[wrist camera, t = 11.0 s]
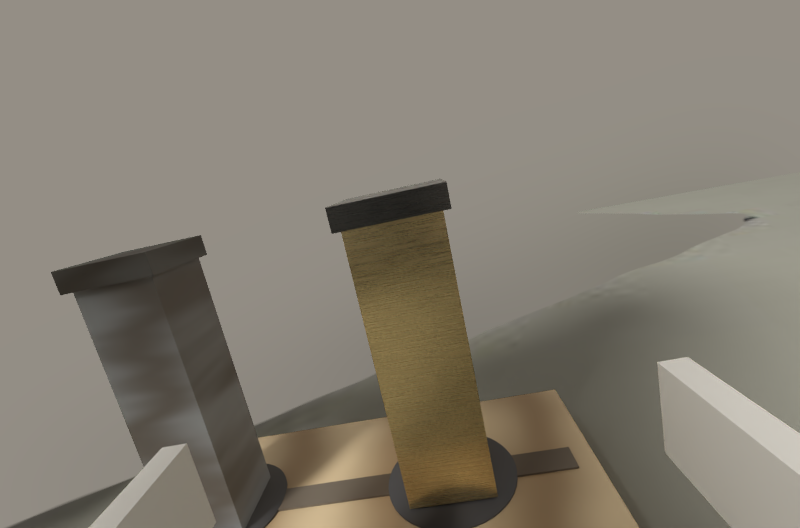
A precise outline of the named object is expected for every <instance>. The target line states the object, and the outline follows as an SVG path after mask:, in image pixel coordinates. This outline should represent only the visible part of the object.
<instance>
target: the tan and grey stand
mask: <svg viewBox="0 0 800 528" xmlns="http://www.w3.org/2000/svg"><path fill="white" fill-rule="evenodd" d="M204 255H207V253H206V250H205V247H204V244H203V241H202V238H201V235H200V236H195V237H191V238H186V239H181V240H177V241H172V242H167V243H163V244H158V245H154V246H149V247H144V248H140V249H135V250H130V251H126V252H122V253H118V254H115V255H111V256H108V257H104V258H100V259H97V260H93V261H89V262H86V263H82V264H79V265H75V266H71V267H68V268H64V269H61V270H57V271H54V272H51V274H52V276H53V278H54V281H55V283H56V286H57V288H58V291H59V293H60V295H63V294H68V293H74V296H75V298H76V301H77V303H78V305H79V308H80V310H81V313H82V315H83V318H84V320H85V323H86V325H87V328H88V330H89V333H90V335H91V338H92V340H93V342H94V345H95V347H96V350H97V352H98V355H99V357H100V360H101V362H102V365H103V367H104V370H105V372H106V374H107V377H108V379H109V382H110V384H111V387H112V389H113V392H114V394H115V397H116V399H117V402H118V404H119V407H120V409H121V411H122V414H123V416H124V419H125V421H126V424H127V426H128V429H129V431H130V434H131V436H132V439H133V441H134V444H135V446H136V448H137V451H138V453H139V456H140V458H141V461H142V463H143V465H144V467H145V466H146V465H147V463H148V462H149V461H150V460H151V459H152V458H153V457H154V456H155V455H156V454H157V453H158V451H159V450H160V449H161V448H162V447H168V446H174V445H180V444H186V443H187V445H188V448H189V451H190V453H191V456H192V459H193V461H194V464H195V467H196V469H197V472H198V475H199V477H200V480H201V483H202V485H203V488H204V491H205V493H206V496H207V499H208V501H209V504H210V507H211V509H212V512H213V515H214V517H215V520H216V523H215V525H214V527H213V528H639V526H638V525H637V523H636V521H635V520H634V518H633V517H632V515H631V513H630V512H629V510H628V508H627V507H626V505H625V503H624V502H623V500H622V498H621V497H620V495H619V494H618V492H617V490H616V489H615V487H614V485H613V484H612V482H611V480H610V479H609V477H608V475H607V474H606V472H605V471H604V469H603V467H602V466H601V464H600V462H599V461H598V459H597V457H596V456H595V454H594V453H593V451H592V449H591V448H590V446H589V444H588V443H587V441H586V439H585V438H584V436H583V434H582V433H581V431H580V430H579V428H578V426H577V425H576V423H575V421H574V420H573V418H572V416H571V415H570V413H569V411H568V410H567V408H566V407H565V405H564V403H563V402H562V400H561V398H560V397H559V395H558V393H557V392H556V390H549V391H542V392H536V393H530V394H524V395H518V396H512V397H506V398H499V399H493V400H487V401H481V402H480V405H481V411H482V416H483V421H484V426H485V431H486V437H487V442H488V447H489V452H490V458H491V463H492V468H493V473H494V478H495V484H496V489H497V494H498V497H493V498H486V499H479V500H471V501H464V502H457V503H450V504H443V505H436V506H428V507H421V508H414V509H410V507H409V503H408V499H407V495H406V491H405V487H404V483H403V479H402V475H401V471H400V467H399V463H398V459H397V455H396V451H395V447H394V443H393V439H392V435H391V431H390V427H389V422H388V418H387V417H383V418H376V419H370V420H364V421H358V422H352V423H346V424H340V425H333V426H327V427H321V428H315V429H309V430H303V431H296V432H290V433H284V434H278V435H272V436H266V437H260V438H258V437H257V434H256V431H255V428H254V425H253V422H252V419H251V416H250V413H249V410H248V407H247V403H246V400H245V397H244V394H243V392H242V388H241V385H240V382H239V379H238V376H237V373H236V370H235V367H234V364H233V361H232V358H231V355H230V352H229V349H228V346H227V343H226V340H225V337H224V334H223V331H222V328H221V325H220V322H219V319H218V316H217V312H216V310H215V307H214V303H213V301H212V298H211V294H210V291H209V288H208V285H207V282H206V279H205V276H204V273H203V270H202V267H201V264H200V261H199V257H202V256H204Z"/></svg>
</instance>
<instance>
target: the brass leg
mask: <svg viewBox="0 0 800 528" xmlns="http://www.w3.org/2000/svg"><path fill="white" fill-rule="evenodd" d="M325 209H326V212H327V217H328V221H329V225H330V228H331V233H337V232H341V233H342V237H343V241H344V246H345V250H346V253H347V257H348V262H349V266H350V269H351V273H352V277H353V281H354V286H355V290H356V294H357V298H358V302H359V306H360V310H361V314H362V318H363V322H364V326H365V330H366V334H367V338H368V342H369V346H370V350H371V354H372V358H373V362H374V366H375V370H376V374H377V378H378V382H379V386H380V390H381V394H382V398H383V402H384V406H385V410H386V414H387V418H388V422H389V427H390V431H391V435H392V439H393V443H394V447H395V451H396V455H397V459H398V463H399V467H400V471H401V475H402V479H403V483H404V487H405V491H406V495H407V499H408V503H409V507H410V509H414V508H421V507H428V506H436V505H443V504H450V503H457V502H464V501H471V500H479V499H486V498H493V497H498V494H497V489H496V484H495V478H494V473H493V468H492V463H491V458H490V452H489V447H488V442H487V437H486V431H485V426H484V421H483V416H482V411H481V405H480V400H479V395H478V390H477V385H476V379H475V374H474V369H473V364H472V358H471V353H470V348H469V343H468V338H467V333H466V328H465V322H464V317H463V312H462V306H461V302H460V296H459V291H458V286H457V280H456V275H455V270H454V265H453V260H452V254H451V249H450V244H449V239H448V234H447V228H446V223H445V218H444V213H443V210H447V209H451V204H450V199H449V193H448V188H447V183H446V181H444V180H442V179H437V180H433V181H428V182H424V183H419V184H414V185H410V186H405V187H401V188H396V189H392V190H387V191H382V192H378V193H373V194H369V195H364V196H359V197H355V198H350V199H346V200H344V201H341V202H339V203H336V204H334V205H331V206H329V207H326V208H325Z"/></svg>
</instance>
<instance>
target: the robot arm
mask: <svg viewBox="0 0 800 528" xmlns="http://www.w3.org/2000/svg"><path fill="white" fill-rule="evenodd" d="M657 366H658V378H659V389H660V401H661V412H662V424H663V435H664V447H665V453H666V455H667V456H668V457H669V458H670V459H671V460H672V461H673V462H674V464H675V465H676V466H677V467H678V468H679V469H680V470H681V472H682V473H683V474H684V475H685V476H686V477H687V478H688V479H689V481H690V482H691V483H692V484H693V485H694V486H695V487H696V489H697V490H698V491H699V492H700V493H701V494H702V495H703V496H704V498H705V499H706V500H707V501H708V502H709V503H710V504H711V506H712V507H713V508H714V509H715V510H716V511H717V512H718V513H719V515H720V516H721V517H722V518H723V519H724V520H725V521H726V522H727V524H728V525H729V526H730V527H731V528H800V433H798V432H797V431H795V430H794V429H792V428H791V427H789V426H788V425H786V424H785V423H784V422H782V421H781V420H779V419H778V418H776V417H775V416H773V415H772V414H770V413H769V412H767V411H766V410H765V409H763V408H762V407H760V406H759V405H757V404H756V403H754V402H753V401H751V400H750V399H748V398H747V397H746V396H744V395H743V394H741V393H740V392H738V391H737V390H735V389H734V388H732V387H731V386H729V385H728V384H727V383H725V382H724V381H722V380H721V379H719V378H718V377H716V376H715V375H713V374H712V373H710V372H709V371H708V370H706V369H705V368H703V367H702V366H700V365H699V364H697V363H696V362H694V361H693V360H691V359H690V358H689V357H684V358H678V359H672V360H667V361H661V362H657ZM215 523H216V520H215V517H214V515H213V512H212V509H211V507H210V504H209V501H208V499H207V496H206V493H205V491H204V488H203V485H202V483H201V480H200V477H199V475H198V472H197V469H196V467H195V464H194V461H193V459H192V456H191V453H190V451H189V448H188V445H187V443H186V444H180V445H174V446H168V447H162V448H161V449H160V450H159V451H158V453H157V454H156V455H155V456H154V457H153V458H152V459H151V460H150V461H149V462H148V463H147V465H146V466H145V467H144V468H143V469H142V470H141V471H140V472H139V473H138V474H137V475H136V477H135V478H134V479H133V480H132V481H131V482H130V483H129V484H128V485H127V486H126V487H125V488H124V490H123V491H122V492H121V493H120V494H119V495H118V496H117V497H116V498H115V499H114V500H113V502H112V503H111V504H110V505H109V506H108V507H107V508H106V509H105V510H104V511H103V512H102V514H101V515H100V516H99V517H98V518H97V519H96V520H95V521H94V522H93V523H92V524H91V526H90V527H89V528H213V527H214V525H215Z"/></svg>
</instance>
